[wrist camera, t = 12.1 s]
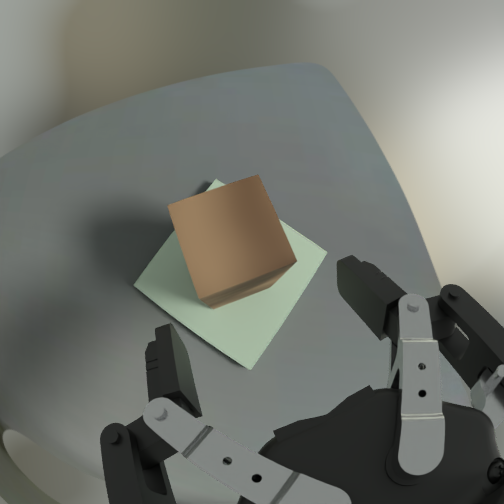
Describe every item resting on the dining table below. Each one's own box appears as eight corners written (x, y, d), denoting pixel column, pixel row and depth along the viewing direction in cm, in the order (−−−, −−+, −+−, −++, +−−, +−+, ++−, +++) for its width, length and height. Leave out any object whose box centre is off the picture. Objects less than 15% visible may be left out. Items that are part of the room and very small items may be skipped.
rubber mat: (137, 286, 24) (133, 285, 23) (216, 183, 26) (216, 179, 25) (249, 368, 22) (250, 370, 22) (324, 254, 25) (327, 252, 24)
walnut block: (213, 309, 23) (198, 298, 13) (192, 253, 24) (167, 205, 14) (270, 287, 23) (297, 260, 14) (248, 232, 24) (258, 174, 15)
